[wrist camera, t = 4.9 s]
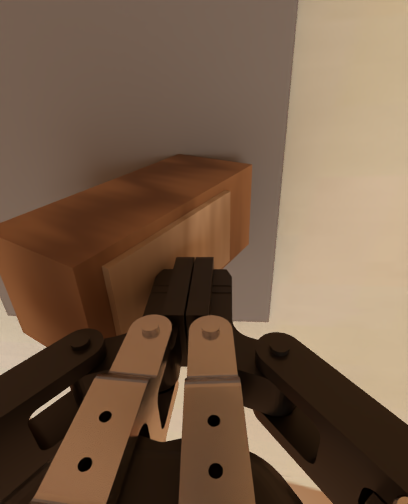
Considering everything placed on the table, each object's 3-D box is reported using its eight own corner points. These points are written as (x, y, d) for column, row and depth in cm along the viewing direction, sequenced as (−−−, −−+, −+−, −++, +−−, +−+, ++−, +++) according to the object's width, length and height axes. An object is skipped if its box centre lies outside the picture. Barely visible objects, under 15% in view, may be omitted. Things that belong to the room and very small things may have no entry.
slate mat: (10, 312, 29) (8, 315, 29) (-121, -6, 18) (-127, -8, 18) (268, 318, 28) (268, 322, 27) (299, -26, 16) (300, -28, 16)
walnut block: (183, 226, 23) (23, 332, 15) (178, 153, 21) (-18, 229, 12) (253, 245, 21) (108, 386, 12) (257, 165, 18) (79, 270, 10)
